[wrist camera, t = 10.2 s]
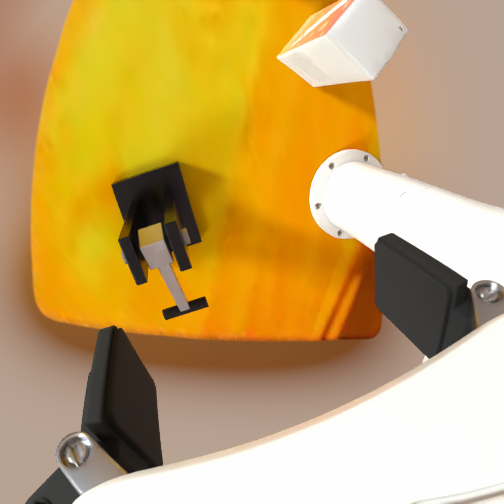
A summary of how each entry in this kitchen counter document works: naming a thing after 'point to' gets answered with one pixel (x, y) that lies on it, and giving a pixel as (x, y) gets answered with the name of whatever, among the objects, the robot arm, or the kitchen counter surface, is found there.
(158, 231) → the lever
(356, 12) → the small box
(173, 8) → the kitchen counter surface
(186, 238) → the bracket
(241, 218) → the kitchen counter surface
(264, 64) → the kitchen counter surface
